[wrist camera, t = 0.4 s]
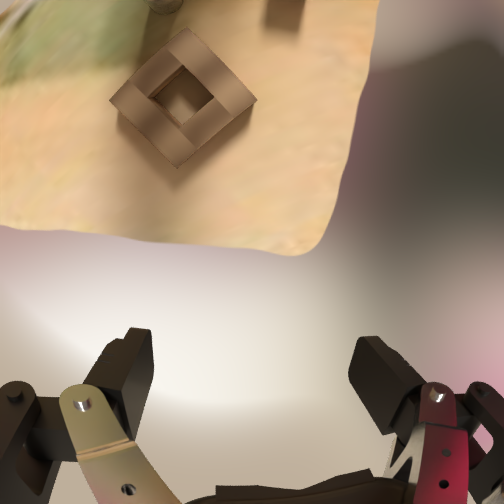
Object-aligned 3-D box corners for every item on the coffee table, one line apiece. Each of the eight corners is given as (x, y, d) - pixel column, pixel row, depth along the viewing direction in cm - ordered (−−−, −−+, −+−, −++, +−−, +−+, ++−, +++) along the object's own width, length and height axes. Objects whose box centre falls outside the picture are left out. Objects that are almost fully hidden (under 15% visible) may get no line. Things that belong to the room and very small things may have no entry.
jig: (119, 99, 29) (108, 100, 26) (190, 33, 25) (186, 26, 22) (181, 162, 34) (176, 168, 31) (254, 99, 31) (257, 100, 28)
